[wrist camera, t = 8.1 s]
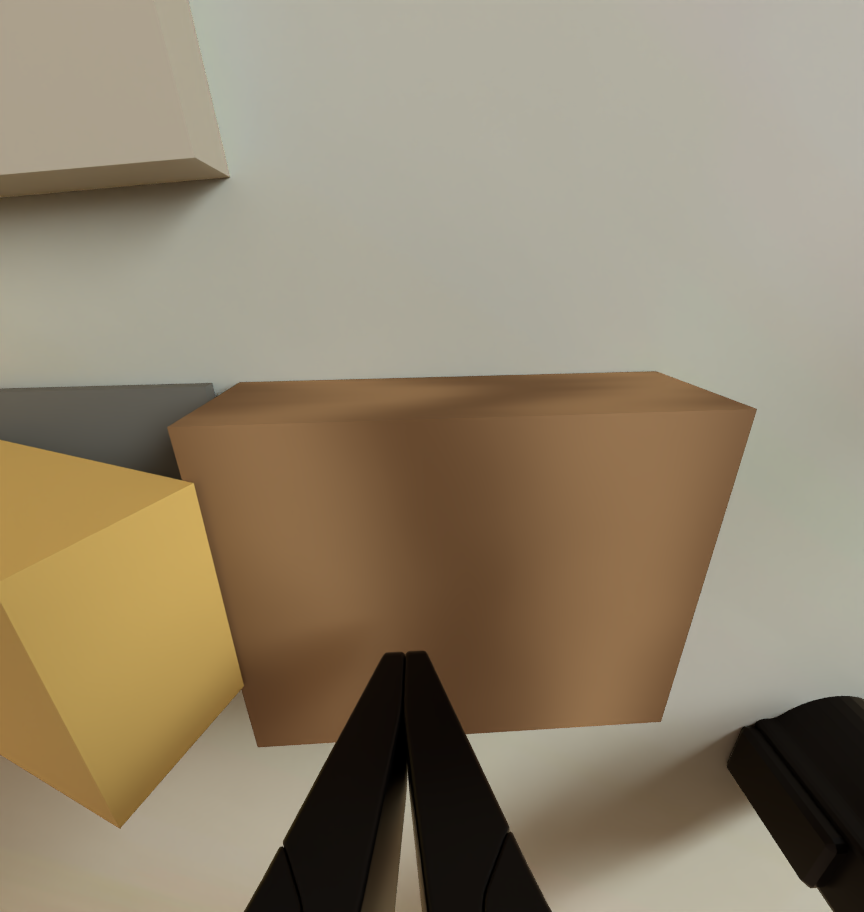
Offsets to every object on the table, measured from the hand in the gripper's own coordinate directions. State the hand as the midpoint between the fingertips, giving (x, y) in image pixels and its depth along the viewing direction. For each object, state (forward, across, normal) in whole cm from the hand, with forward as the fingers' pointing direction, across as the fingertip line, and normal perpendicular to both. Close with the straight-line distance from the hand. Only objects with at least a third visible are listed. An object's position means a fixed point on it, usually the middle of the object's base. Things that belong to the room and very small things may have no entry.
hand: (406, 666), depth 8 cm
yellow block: (+3, +8, -1) cm, 8 cm away
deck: (+5, -1, 0) cm, 5 cm away
